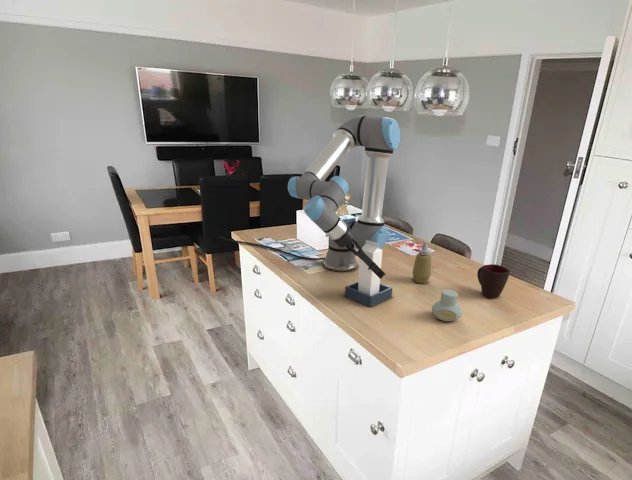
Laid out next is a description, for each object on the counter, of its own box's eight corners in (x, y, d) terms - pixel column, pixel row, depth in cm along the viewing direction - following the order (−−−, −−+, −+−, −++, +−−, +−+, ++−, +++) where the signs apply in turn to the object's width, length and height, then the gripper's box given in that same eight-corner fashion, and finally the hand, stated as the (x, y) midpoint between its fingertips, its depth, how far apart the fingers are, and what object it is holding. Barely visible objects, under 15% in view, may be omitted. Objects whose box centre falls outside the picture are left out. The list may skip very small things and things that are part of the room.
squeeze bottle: (429, 285, 179) (434, 245, 171) (410, 283, 180) (415, 243, 173) (430, 279, 186) (435, 240, 179) (412, 276, 187) (417, 238, 180)
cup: (489, 302, 168) (495, 274, 163) (467, 288, 179) (472, 262, 174) (507, 298, 172) (513, 271, 167) (485, 286, 183) (490, 260, 178)
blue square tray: (344, 296, 163) (345, 286, 161) (366, 287, 172) (367, 278, 171) (370, 307, 156) (371, 297, 154) (391, 297, 165) (392, 287, 164)
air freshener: (429, 320, 149) (433, 294, 145) (432, 310, 157) (435, 286, 153) (460, 325, 147) (465, 299, 143) (461, 315, 155) (465, 290, 151)
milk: (366, 291, 168) (370, 238, 159) (379, 295, 164) (383, 241, 155) (357, 295, 163) (360, 241, 154) (369, 300, 160) (373, 244, 151)
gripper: (323, 231, 159) (358, 265, 171) (342, 251, 139) (381, 289, 150) (337, 217, 159) (371, 252, 170) (358, 235, 138) (396, 274, 150)
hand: (376, 269), depth 160 cm, fingers open, 12 cm apart
